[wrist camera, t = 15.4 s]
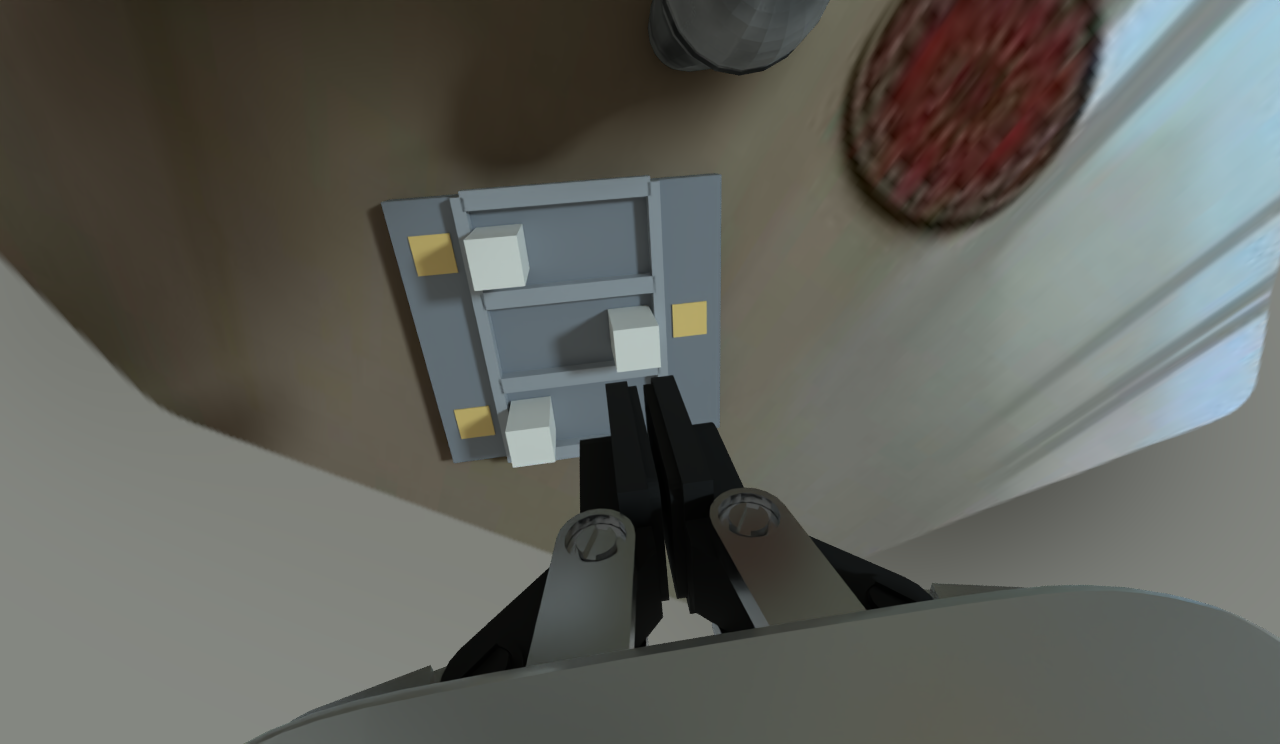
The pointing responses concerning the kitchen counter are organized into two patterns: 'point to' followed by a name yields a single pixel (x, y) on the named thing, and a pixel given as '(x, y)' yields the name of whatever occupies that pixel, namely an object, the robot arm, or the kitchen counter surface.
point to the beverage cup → (729, 32)
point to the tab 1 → (497, 257)
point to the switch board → (563, 300)
